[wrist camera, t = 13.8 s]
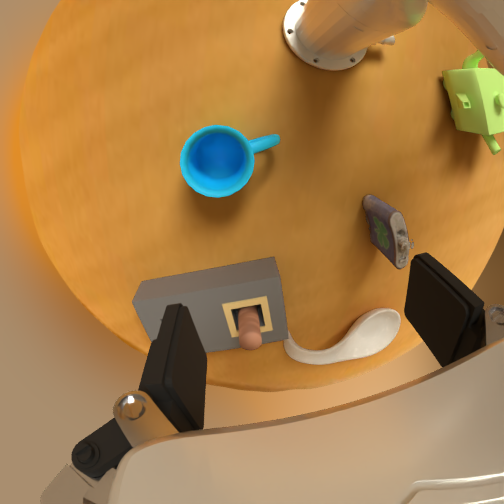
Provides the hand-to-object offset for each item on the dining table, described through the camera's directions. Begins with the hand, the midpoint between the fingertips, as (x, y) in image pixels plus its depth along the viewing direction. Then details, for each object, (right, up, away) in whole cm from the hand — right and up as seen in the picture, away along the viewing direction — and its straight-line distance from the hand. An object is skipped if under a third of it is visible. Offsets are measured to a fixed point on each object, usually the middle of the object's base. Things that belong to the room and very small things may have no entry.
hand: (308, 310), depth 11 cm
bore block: (-9, -6, +36) cm, 37 cm away
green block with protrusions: (+35, +30, +22) cm, 52 cm away
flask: (+17, +7, +32) cm, 37 cm away
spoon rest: (+15, -13, +41) cm, 46 cm away
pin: (-3, -5, +34) cm, 35 cm away
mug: (-5, +16, +26) cm, 31 cm away
